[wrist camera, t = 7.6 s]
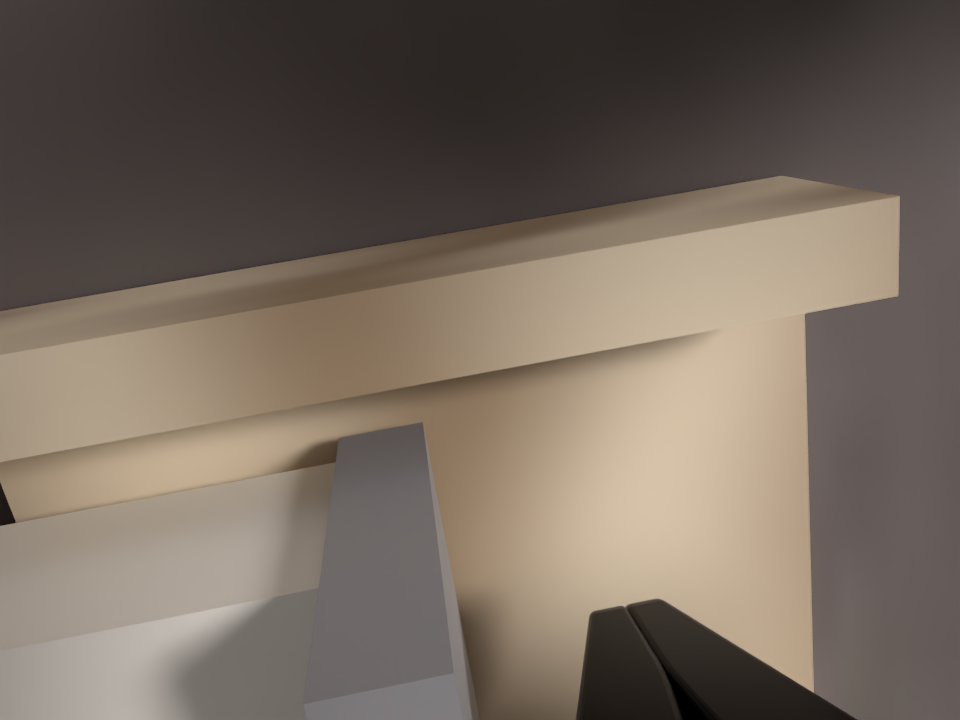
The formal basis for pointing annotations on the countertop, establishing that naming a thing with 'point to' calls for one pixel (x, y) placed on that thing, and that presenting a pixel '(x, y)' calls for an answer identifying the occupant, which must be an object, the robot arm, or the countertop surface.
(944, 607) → the countertop surface
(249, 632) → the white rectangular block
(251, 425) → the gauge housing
